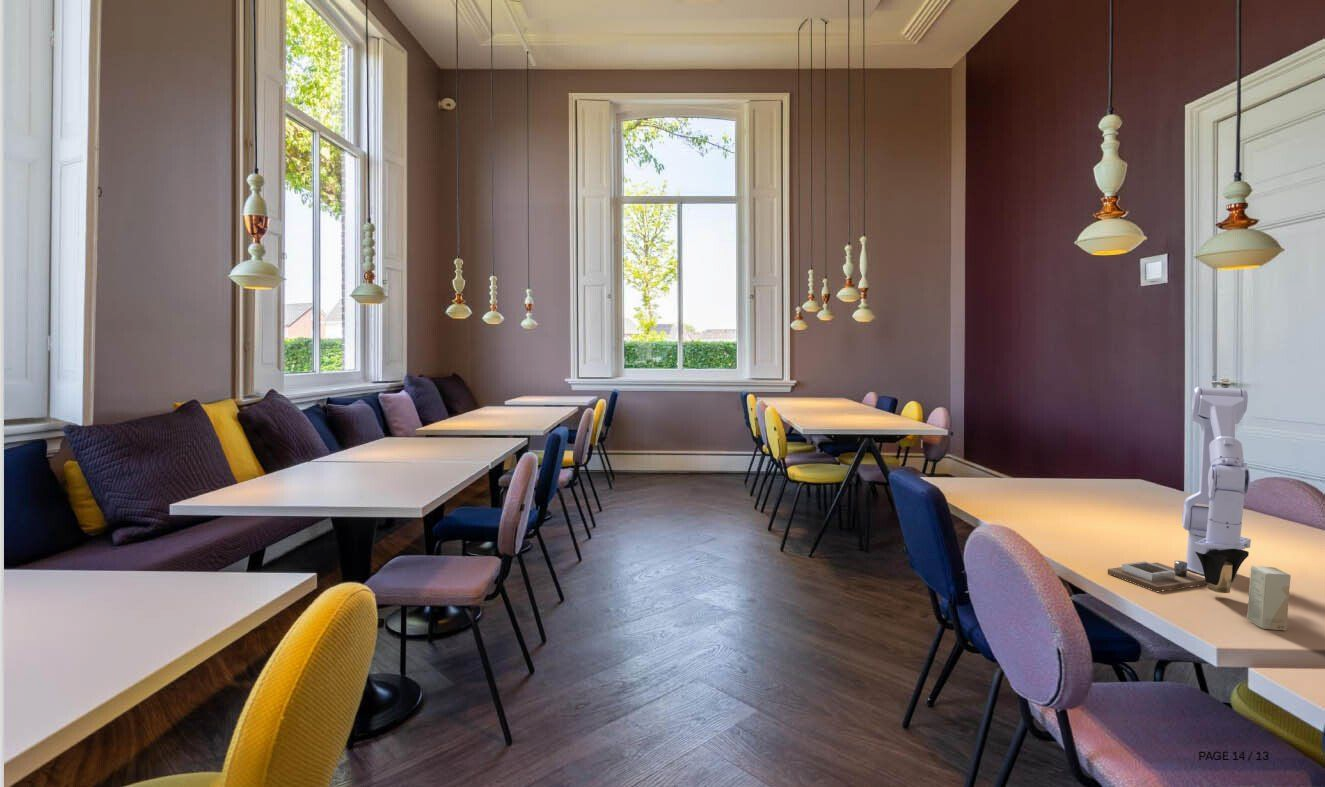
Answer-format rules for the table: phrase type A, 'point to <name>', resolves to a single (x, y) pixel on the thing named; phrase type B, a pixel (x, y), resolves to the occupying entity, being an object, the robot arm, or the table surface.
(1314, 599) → the table surface
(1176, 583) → the fitting board
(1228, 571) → the cylinder
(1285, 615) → the box
